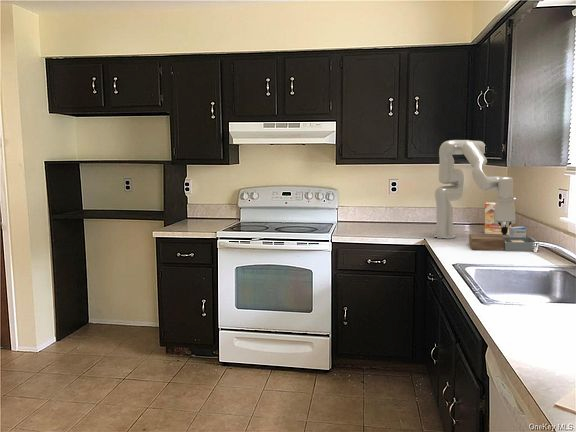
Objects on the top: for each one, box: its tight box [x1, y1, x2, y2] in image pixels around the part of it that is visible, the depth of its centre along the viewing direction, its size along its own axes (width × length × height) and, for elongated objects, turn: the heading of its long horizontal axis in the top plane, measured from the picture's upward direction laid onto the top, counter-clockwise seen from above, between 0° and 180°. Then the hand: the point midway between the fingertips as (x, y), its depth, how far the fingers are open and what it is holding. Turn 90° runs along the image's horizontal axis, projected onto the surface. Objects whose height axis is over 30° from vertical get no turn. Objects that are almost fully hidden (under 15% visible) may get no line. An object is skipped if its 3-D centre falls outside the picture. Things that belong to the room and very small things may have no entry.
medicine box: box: [508, 226, 527, 237], centre depth 281 cm, size 8×4×9 cm, turn 105°
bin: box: [502, 236, 540, 253], centre depth 264 cm, size 18×16×4 cm
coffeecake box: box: [484, 202, 512, 236], centre depth 312 cm, size 15×7×20 cm, turn 62°
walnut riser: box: [468, 233, 505, 252], centre depth 268 cm, size 16×16×6 cm
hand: (504, 234), depth 265 cm, fingers closed
